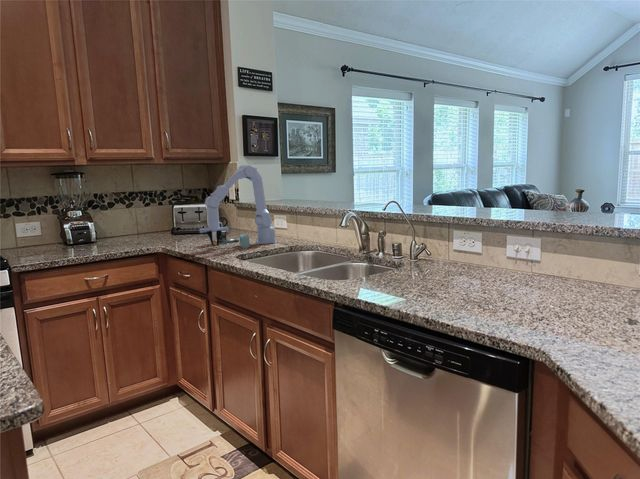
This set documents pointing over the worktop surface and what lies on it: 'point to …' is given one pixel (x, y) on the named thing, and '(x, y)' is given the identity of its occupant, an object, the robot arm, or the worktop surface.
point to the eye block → (244, 241)
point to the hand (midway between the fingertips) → (215, 245)
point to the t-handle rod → (225, 241)
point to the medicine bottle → (214, 235)
